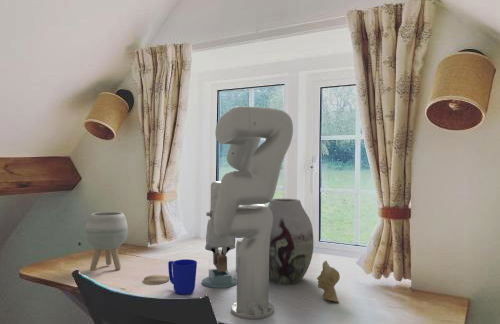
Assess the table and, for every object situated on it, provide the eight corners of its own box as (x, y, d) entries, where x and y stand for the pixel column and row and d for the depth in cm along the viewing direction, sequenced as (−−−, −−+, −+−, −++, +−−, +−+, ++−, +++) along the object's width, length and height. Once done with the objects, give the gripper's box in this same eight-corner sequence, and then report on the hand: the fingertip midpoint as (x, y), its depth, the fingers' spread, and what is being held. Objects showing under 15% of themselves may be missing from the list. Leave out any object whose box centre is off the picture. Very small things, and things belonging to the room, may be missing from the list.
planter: (109, 261, 164) (110, 210, 164) (135, 266, 156) (136, 213, 156) (76, 270, 150) (77, 214, 151) (102, 276, 142) (103, 217, 142)
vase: (263, 290, 128) (264, 202, 129) (250, 273, 149) (251, 197, 149) (321, 287, 132) (322, 202, 133) (301, 270, 153) (302, 197, 154)
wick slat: (221, 262, 143) (227, 270, 133) (213, 263, 142) (218, 271, 132) (220, 249, 142) (226, 257, 133) (213, 250, 142) (218, 257, 132)
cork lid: (170, 284, 135) (170, 280, 135) (144, 286, 133) (144, 282, 133) (168, 277, 144) (168, 273, 144) (143, 278, 141) (144, 275, 141)
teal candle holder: (241, 286, 133) (241, 276, 133) (205, 289, 129) (205, 279, 129) (232, 275, 145) (232, 266, 145) (199, 278, 141) (199, 268, 141)
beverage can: (249, 272, 151) (250, 242, 151) (234, 271, 152) (234, 241, 152) (252, 267, 157) (253, 239, 157) (237, 266, 158) (238, 238, 158)
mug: (178, 284, 134) (178, 256, 134) (201, 291, 127) (202, 262, 127) (159, 289, 128) (159, 260, 128) (182, 298, 120) (183, 266, 120)
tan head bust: (338, 305, 115) (339, 266, 115) (315, 303, 117) (315, 264, 117) (339, 296, 123) (340, 260, 123) (318, 294, 125) (318, 258, 125)
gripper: (201, 217, 131) (200, 269, 131) (243, 216, 136) (242, 267, 135) (198, 214, 139) (197, 264, 138) (238, 213, 143) (237, 261, 143)
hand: (220, 265), depth 137 cm, fingers closed on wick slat
